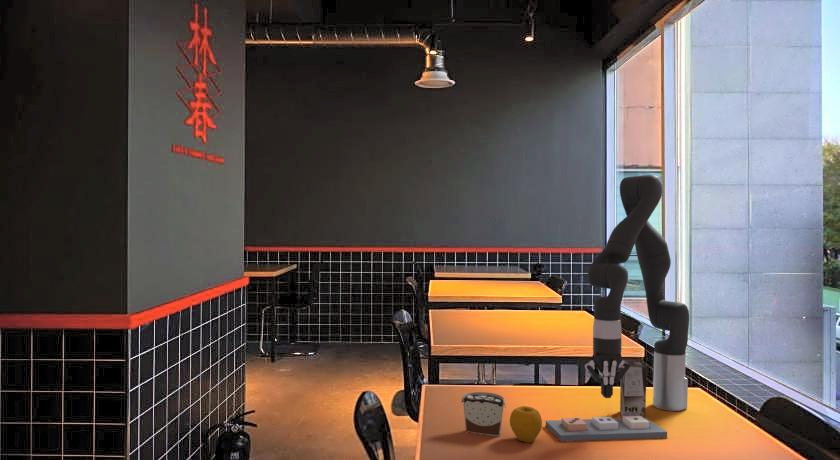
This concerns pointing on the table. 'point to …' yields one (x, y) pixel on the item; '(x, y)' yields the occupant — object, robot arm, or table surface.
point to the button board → (605, 431)
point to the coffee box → (633, 389)
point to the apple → (526, 423)
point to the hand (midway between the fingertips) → (606, 397)
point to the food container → (483, 412)
